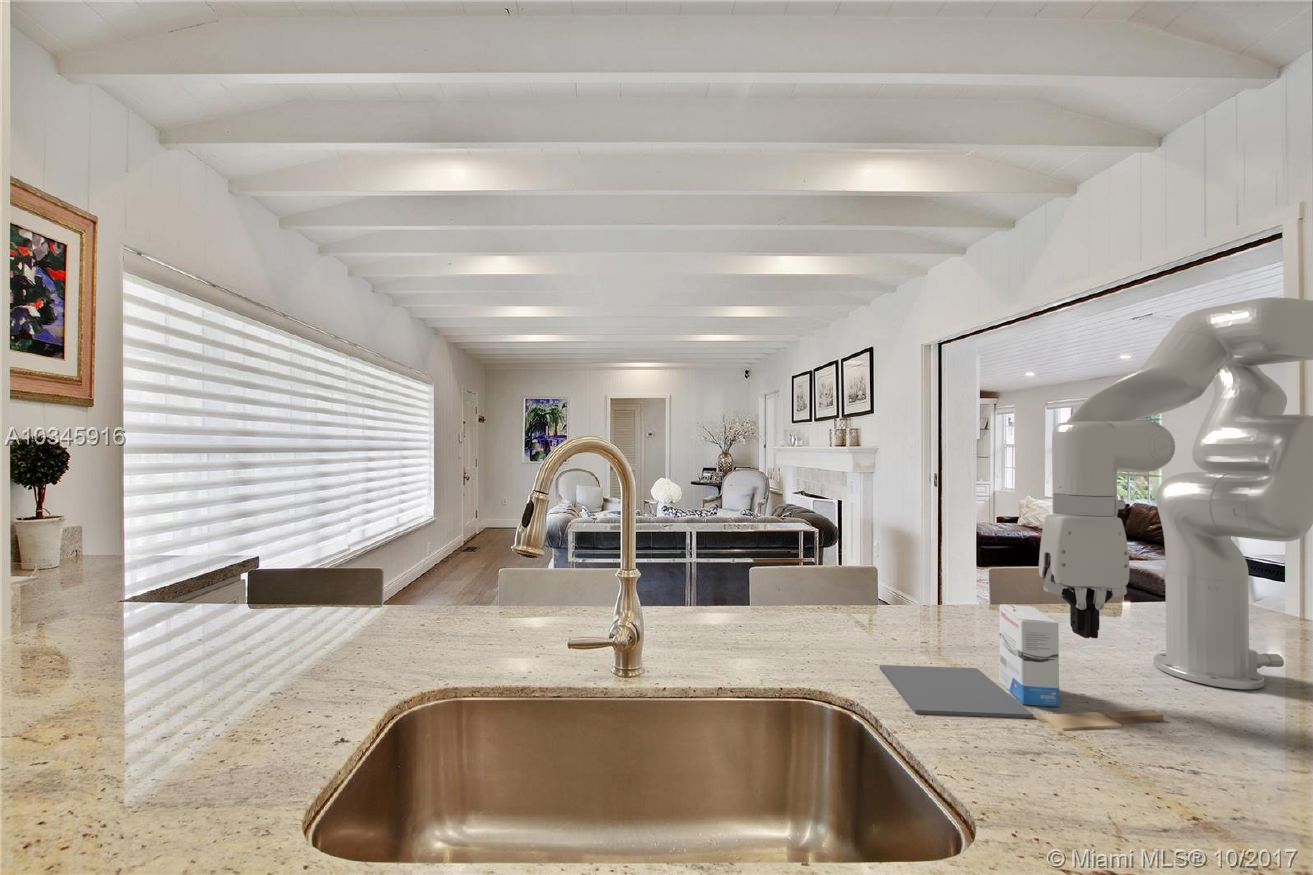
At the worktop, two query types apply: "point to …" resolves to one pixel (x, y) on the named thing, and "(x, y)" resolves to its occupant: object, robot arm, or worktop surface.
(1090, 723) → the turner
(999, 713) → the mat
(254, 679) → the worktop surface
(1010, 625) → the ink box
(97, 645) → the worktop surface
